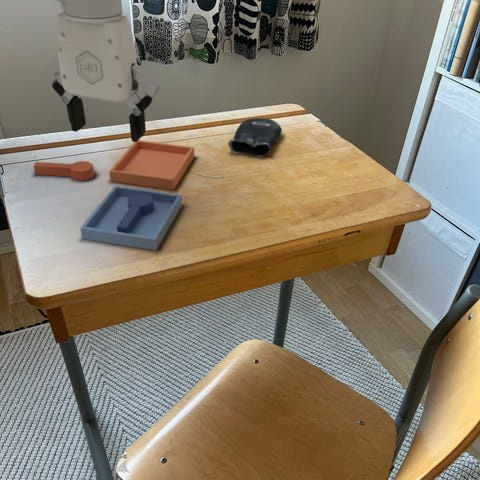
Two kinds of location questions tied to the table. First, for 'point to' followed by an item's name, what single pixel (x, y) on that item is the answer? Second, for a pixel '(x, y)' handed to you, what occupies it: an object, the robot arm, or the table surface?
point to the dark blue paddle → (135, 212)
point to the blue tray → (146, 229)
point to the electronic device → (255, 137)
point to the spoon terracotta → (66, 169)
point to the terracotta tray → (152, 164)
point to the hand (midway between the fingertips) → (108, 133)
